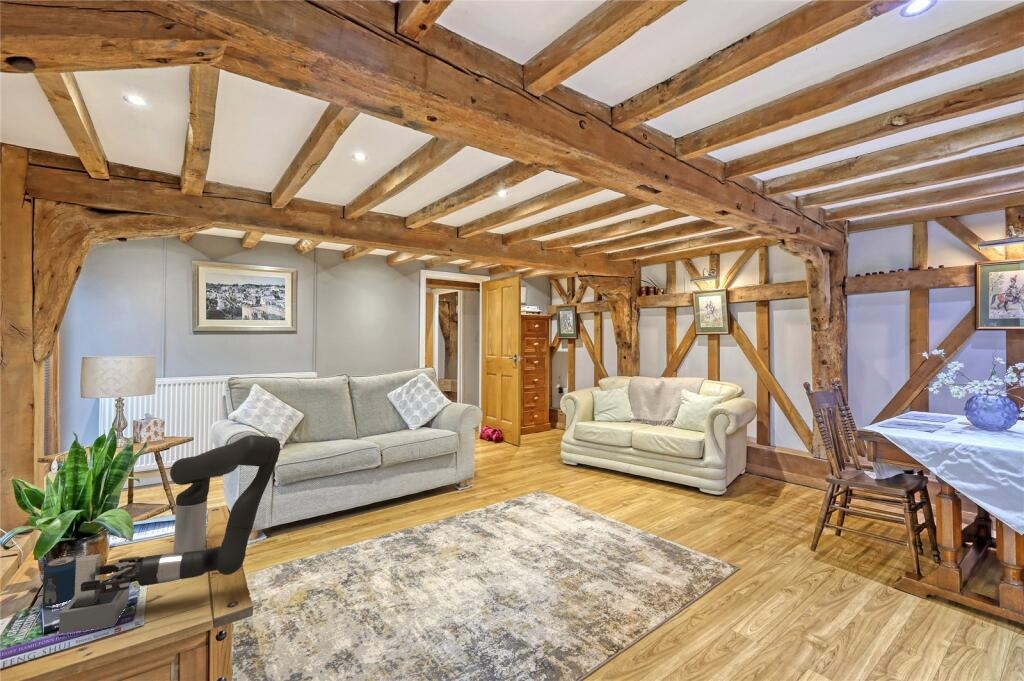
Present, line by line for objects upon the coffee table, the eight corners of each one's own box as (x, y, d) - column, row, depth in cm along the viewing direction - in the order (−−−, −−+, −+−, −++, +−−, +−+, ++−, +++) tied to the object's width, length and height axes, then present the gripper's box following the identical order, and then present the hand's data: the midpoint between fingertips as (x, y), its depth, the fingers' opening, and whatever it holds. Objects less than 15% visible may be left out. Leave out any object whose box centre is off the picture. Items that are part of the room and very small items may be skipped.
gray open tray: (78, 612, 125) (78, 590, 125) (128, 604, 129) (129, 583, 129) (58, 637, 115) (59, 613, 115) (114, 627, 120) (115, 604, 120)
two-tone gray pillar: (78, 615, 122) (80, 556, 122) (99, 612, 124) (101, 553, 124) (72, 623, 119) (74, 562, 119) (93, 619, 121) (96, 559, 121)
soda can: (77, 593, 134) (79, 552, 134) (75, 604, 129) (77, 561, 129) (43, 601, 129) (45, 559, 129) (40, 613, 124) (42, 569, 124)
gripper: (170, 544, 135) (99, 553, 128) (156, 566, 122) (76, 578, 115) (169, 569, 135) (98, 579, 128) (155, 595, 122) (75, 607, 115)
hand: (88, 578), depth 121 cm, fingers open, 8 cm apart
